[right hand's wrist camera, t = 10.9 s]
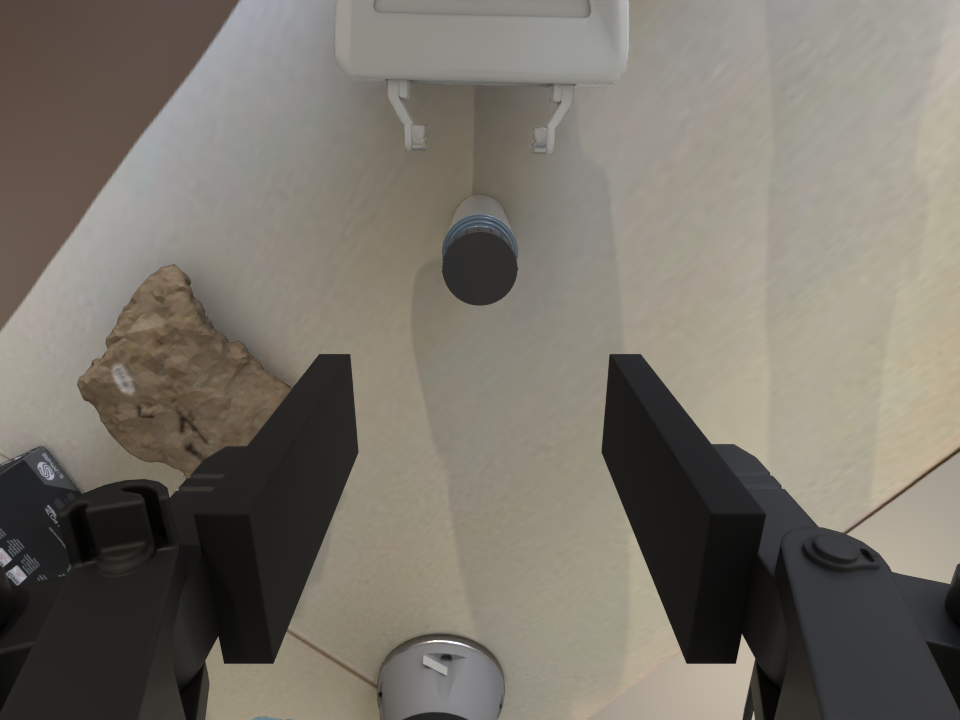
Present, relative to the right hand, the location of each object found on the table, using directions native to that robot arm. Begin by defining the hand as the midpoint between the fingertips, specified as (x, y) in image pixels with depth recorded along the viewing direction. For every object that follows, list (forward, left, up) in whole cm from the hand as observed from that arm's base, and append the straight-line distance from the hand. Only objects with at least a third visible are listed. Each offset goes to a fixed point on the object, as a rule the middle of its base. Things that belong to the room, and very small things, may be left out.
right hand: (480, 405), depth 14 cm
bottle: (0, 0, -39) cm, 39 cm away
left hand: (+4, +5, -32) cm, 33 cm away
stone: (-30, +3, -39) cm, 49 cm away
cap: (0, 0, -18) cm, 18 cm away
